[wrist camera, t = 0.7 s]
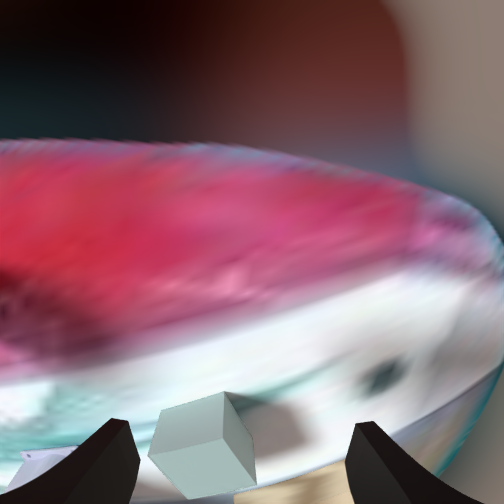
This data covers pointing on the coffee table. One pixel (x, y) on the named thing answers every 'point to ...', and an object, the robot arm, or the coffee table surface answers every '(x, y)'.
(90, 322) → the coffee table surface
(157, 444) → the teal cube
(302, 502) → the beech block
